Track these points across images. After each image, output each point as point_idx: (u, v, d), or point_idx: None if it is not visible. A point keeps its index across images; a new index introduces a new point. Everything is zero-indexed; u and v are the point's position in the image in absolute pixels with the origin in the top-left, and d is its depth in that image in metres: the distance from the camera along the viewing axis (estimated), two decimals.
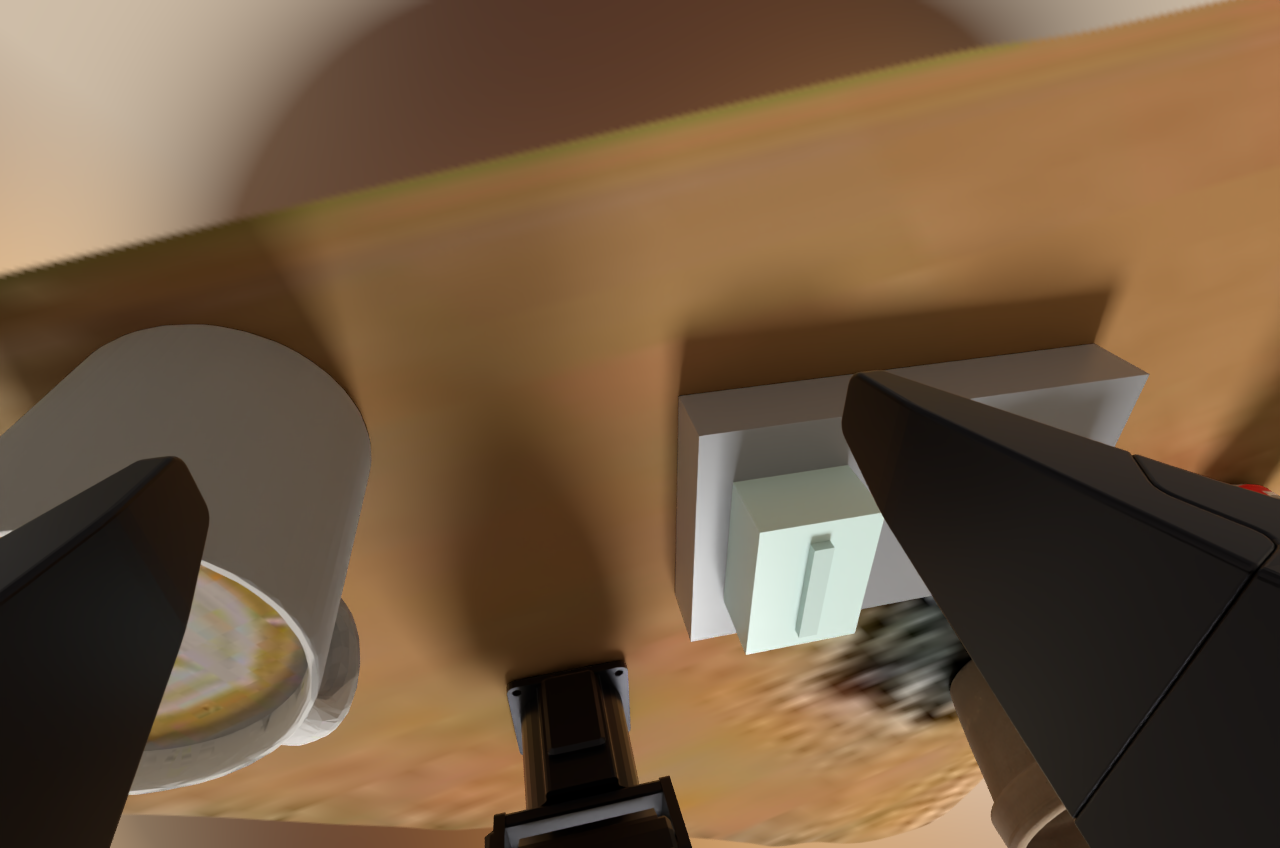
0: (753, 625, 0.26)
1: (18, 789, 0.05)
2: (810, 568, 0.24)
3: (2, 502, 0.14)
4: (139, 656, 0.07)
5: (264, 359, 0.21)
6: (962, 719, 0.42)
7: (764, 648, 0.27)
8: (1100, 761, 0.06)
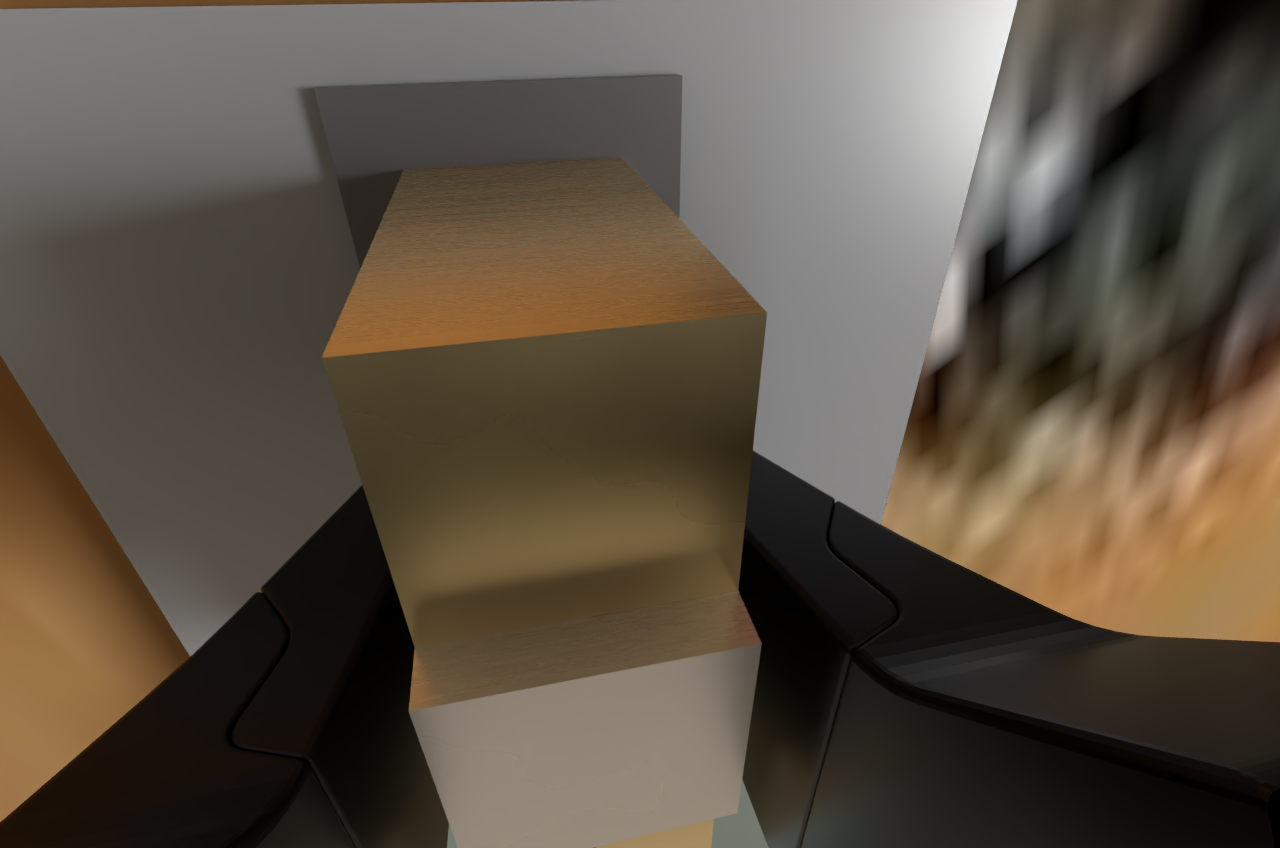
0: None
1: None
2: None
3: None
4: None
5: None
6: None
7: None
8: (792, 837, 0.06)
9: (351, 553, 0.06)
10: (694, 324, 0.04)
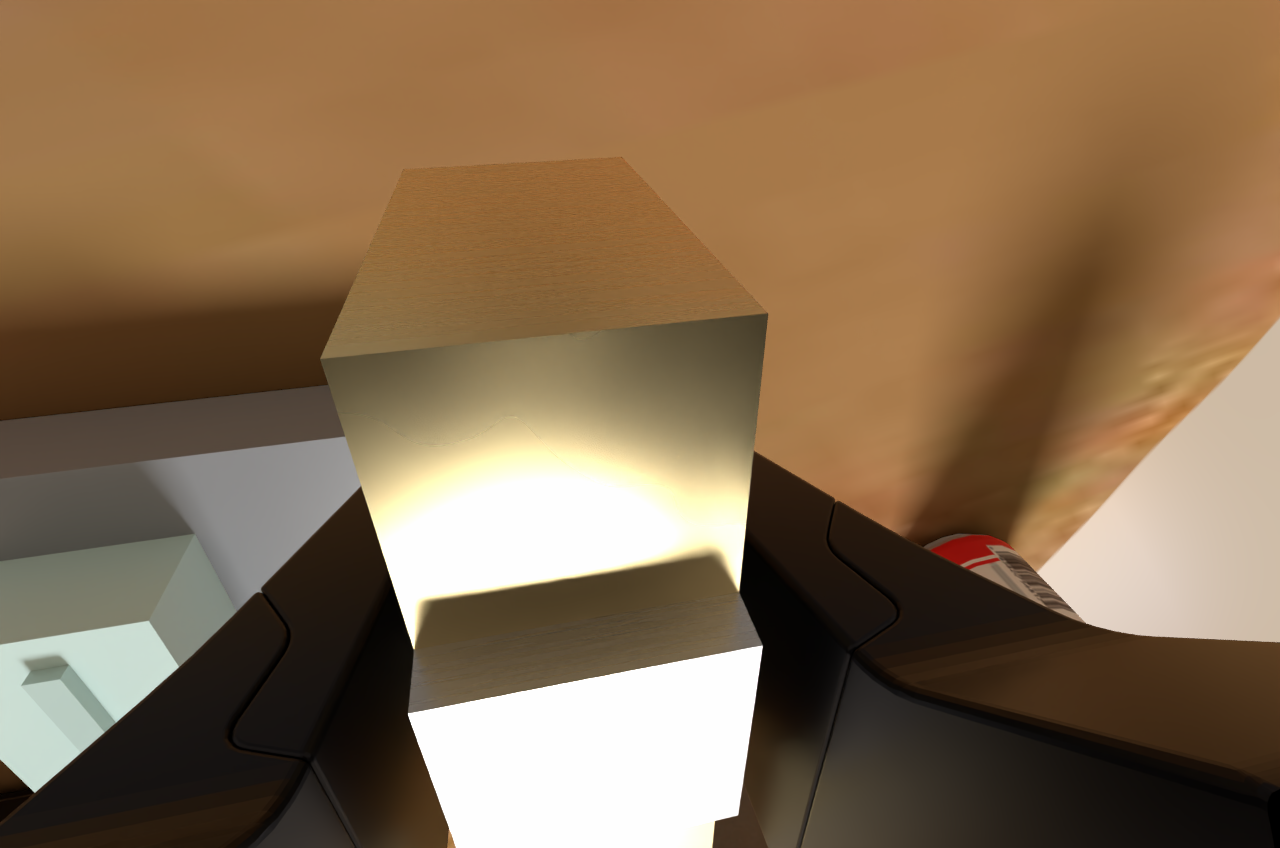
0: (32, 781, 0.17)
1: None
2: (45, 708, 0.15)
3: None
4: None
5: None
6: None
7: None
8: (792, 837, 0.06)
9: (351, 553, 0.06)
10: (695, 325, 0.04)
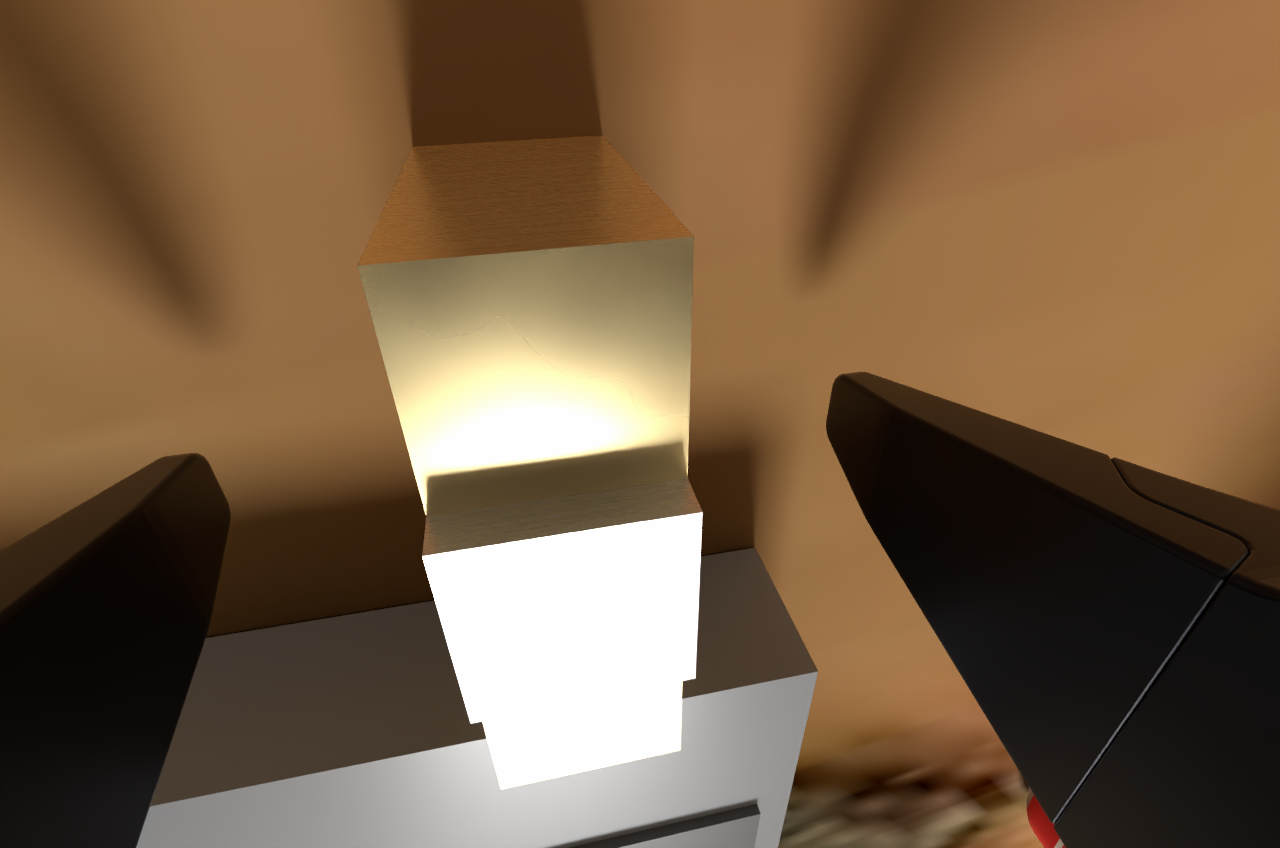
0: None
1: (52, 782, 0.05)
2: None
3: None
4: (165, 652, 0.07)
5: None
6: None
7: None
8: (1077, 767, 0.06)
9: None
10: (638, 245, 0.05)
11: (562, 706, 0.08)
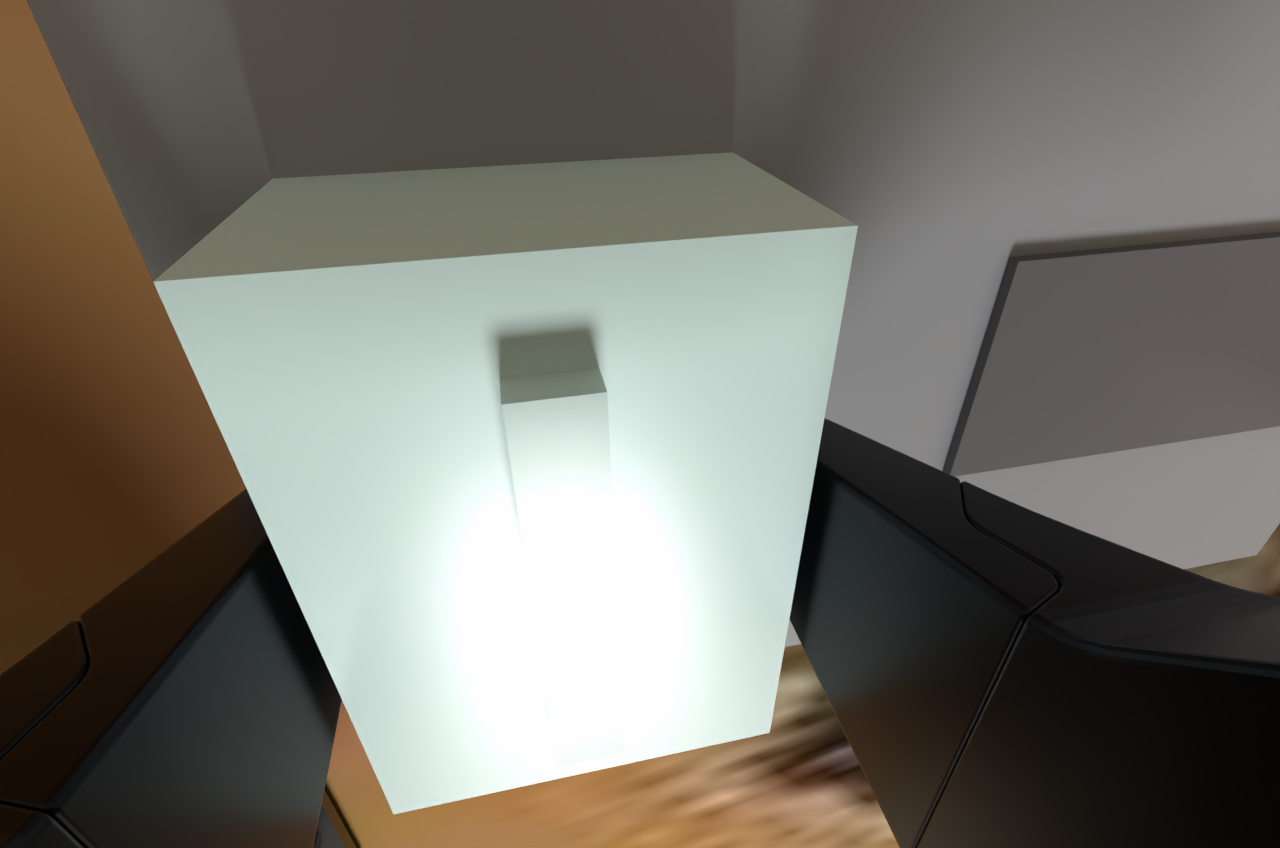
0: (373, 726, 0.07)
1: (270, 740, 0.06)
2: (516, 500, 0.05)
3: None
4: None
5: None
6: None
7: (458, 792, 0.08)
8: (922, 805, 0.06)
9: (185, 578, 0.05)
10: None
11: None
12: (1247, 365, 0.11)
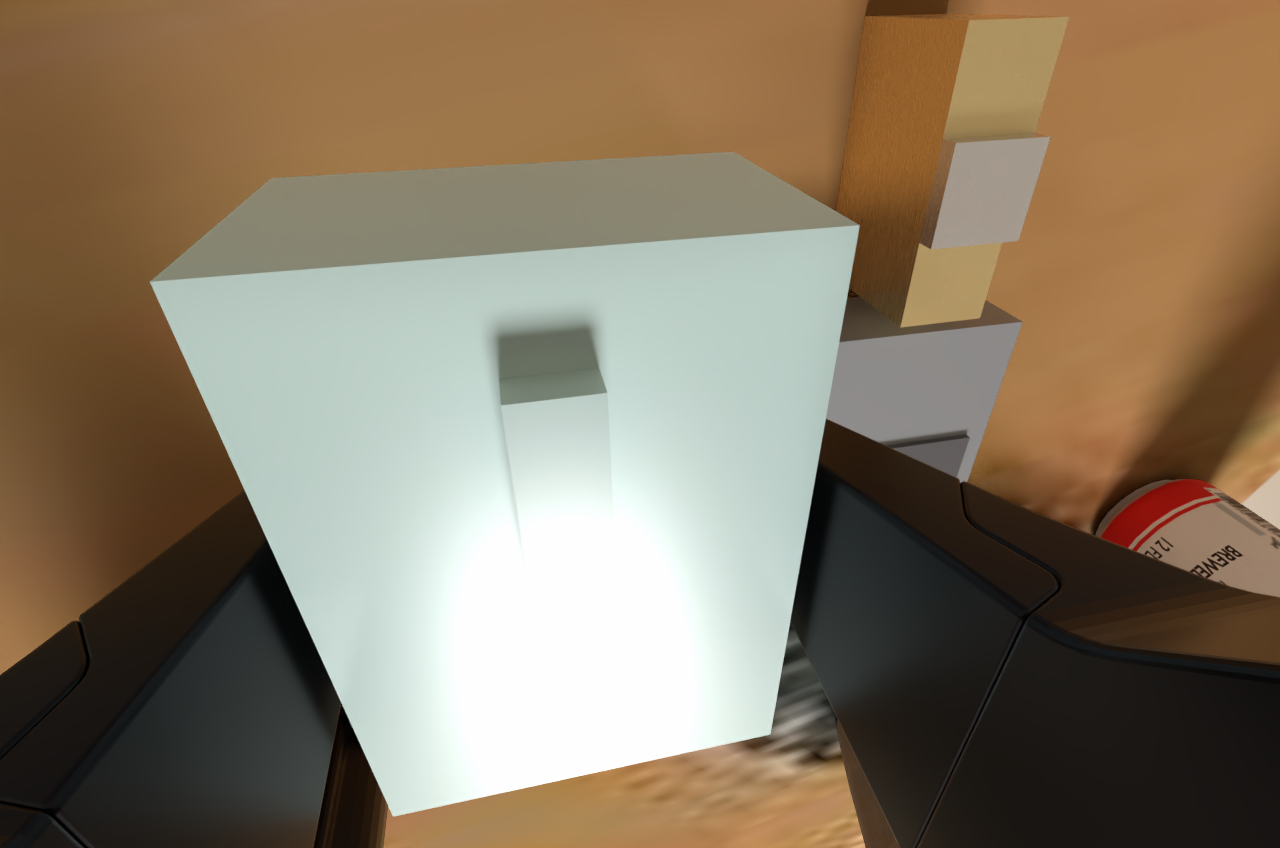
0: (372, 729, 0.07)
1: (270, 740, 0.06)
2: (516, 502, 0.05)
3: None
4: None
5: None
6: (845, 765, 0.34)
7: (458, 794, 0.08)
8: (922, 805, 0.06)
9: (185, 578, 0.05)
10: (1050, 19, 0.14)
11: (945, 269, 0.17)
12: None
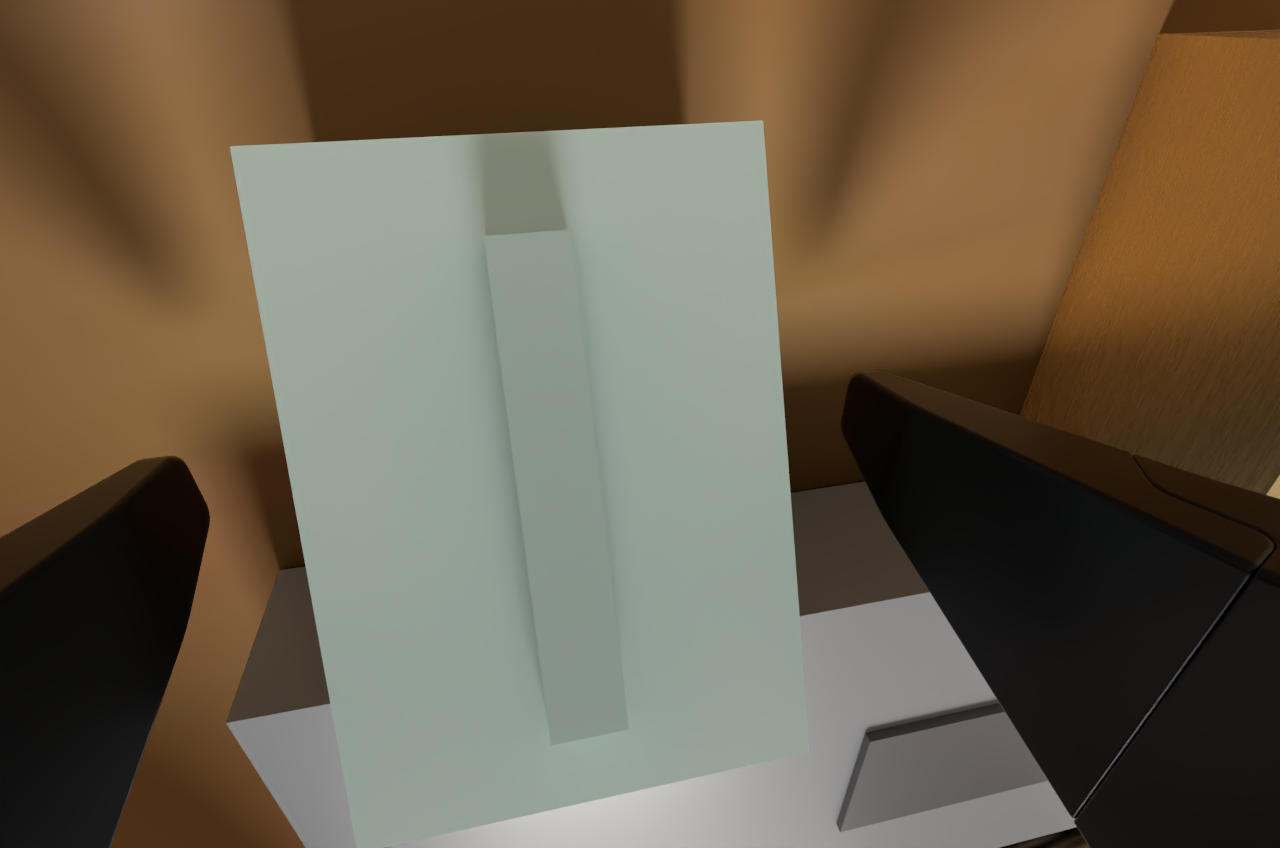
0: (346, 683, 0.06)
1: (18, 789, 0.05)
2: (498, 347, 0.06)
3: None
4: (139, 656, 0.07)
5: None
6: None
7: (436, 820, 0.07)
8: (1100, 762, 0.06)
9: None
10: None
11: None
12: None
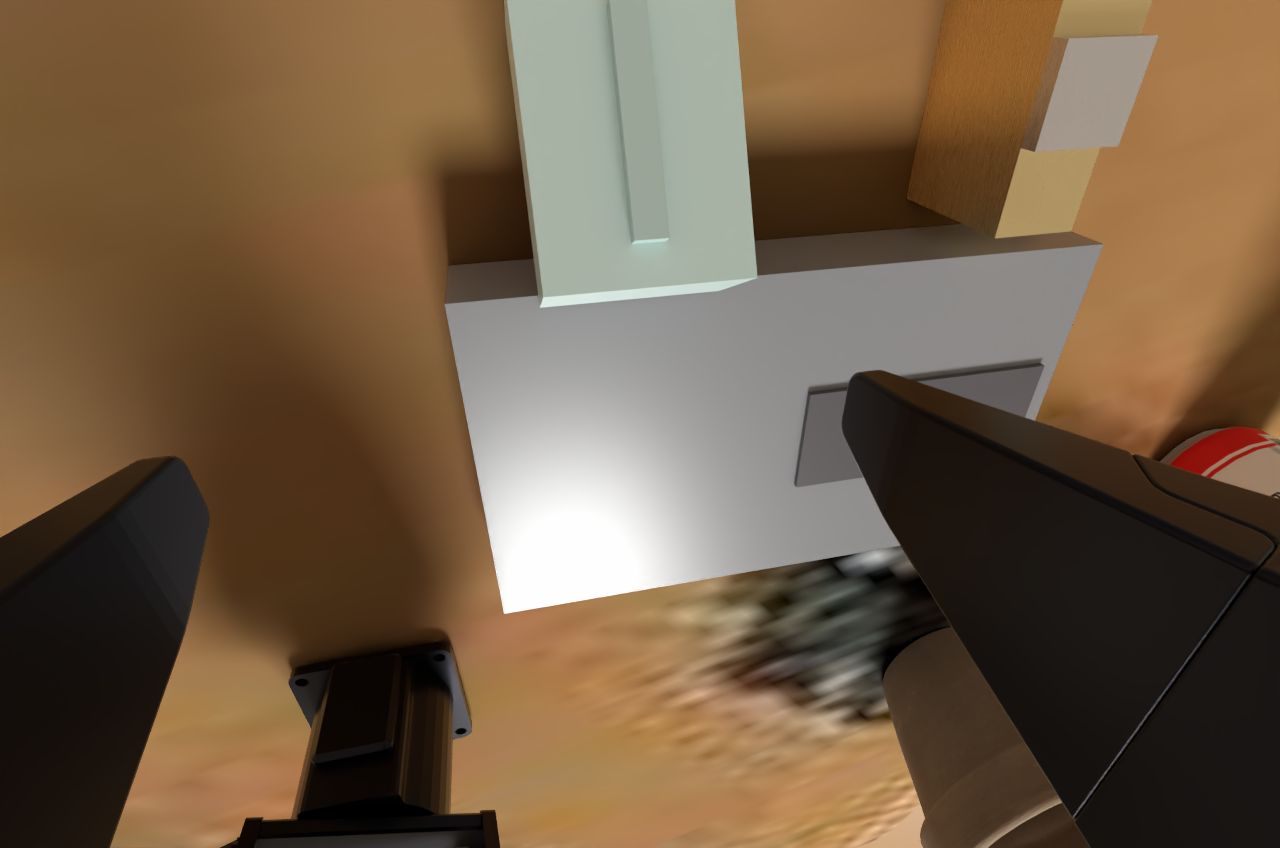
0: (541, 210, 0.14)
1: (18, 789, 0.05)
2: (613, 49, 0.14)
3: None
4: (139, 656, 0.07)
5: None
6: (894, 719, 0.35)
7: (579, 286, 0.14)
8: (1099, 762, 0.06)
9: None
10: None
11: (1043, 178, 0.17)
12: None
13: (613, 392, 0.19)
